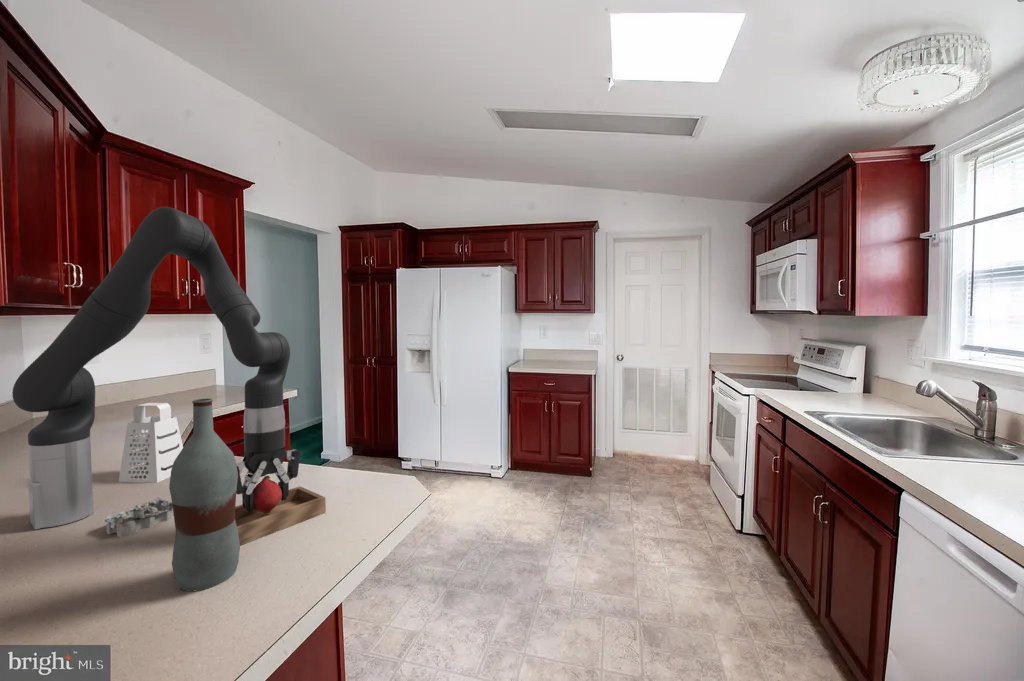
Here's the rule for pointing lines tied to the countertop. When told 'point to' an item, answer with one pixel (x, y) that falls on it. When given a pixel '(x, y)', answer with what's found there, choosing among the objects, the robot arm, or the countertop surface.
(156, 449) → the grater
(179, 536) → the bottle
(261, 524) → the wooden tray
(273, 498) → the onion
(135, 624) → the countertop surface
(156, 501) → the egg carton
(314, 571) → the countertop surface
